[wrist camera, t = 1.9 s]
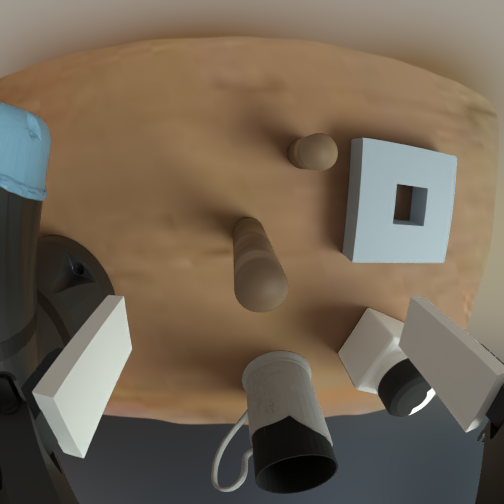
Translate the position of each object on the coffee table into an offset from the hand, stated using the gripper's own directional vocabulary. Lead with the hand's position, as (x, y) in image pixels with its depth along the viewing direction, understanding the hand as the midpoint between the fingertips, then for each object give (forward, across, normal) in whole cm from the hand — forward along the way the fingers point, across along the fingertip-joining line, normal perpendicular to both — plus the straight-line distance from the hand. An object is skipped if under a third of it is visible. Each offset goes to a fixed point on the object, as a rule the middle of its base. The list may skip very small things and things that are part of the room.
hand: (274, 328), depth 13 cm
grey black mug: (+18, +2, -20) cm, 27 cm away
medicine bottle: (+19, +16, -13) cm, 28 cm away
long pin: (+18, 0, 0) cm, 18 cm away
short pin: (+18, +5, +8) cm, 21 cm away
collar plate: (+18, +16, +4) cm, 24 cm away
